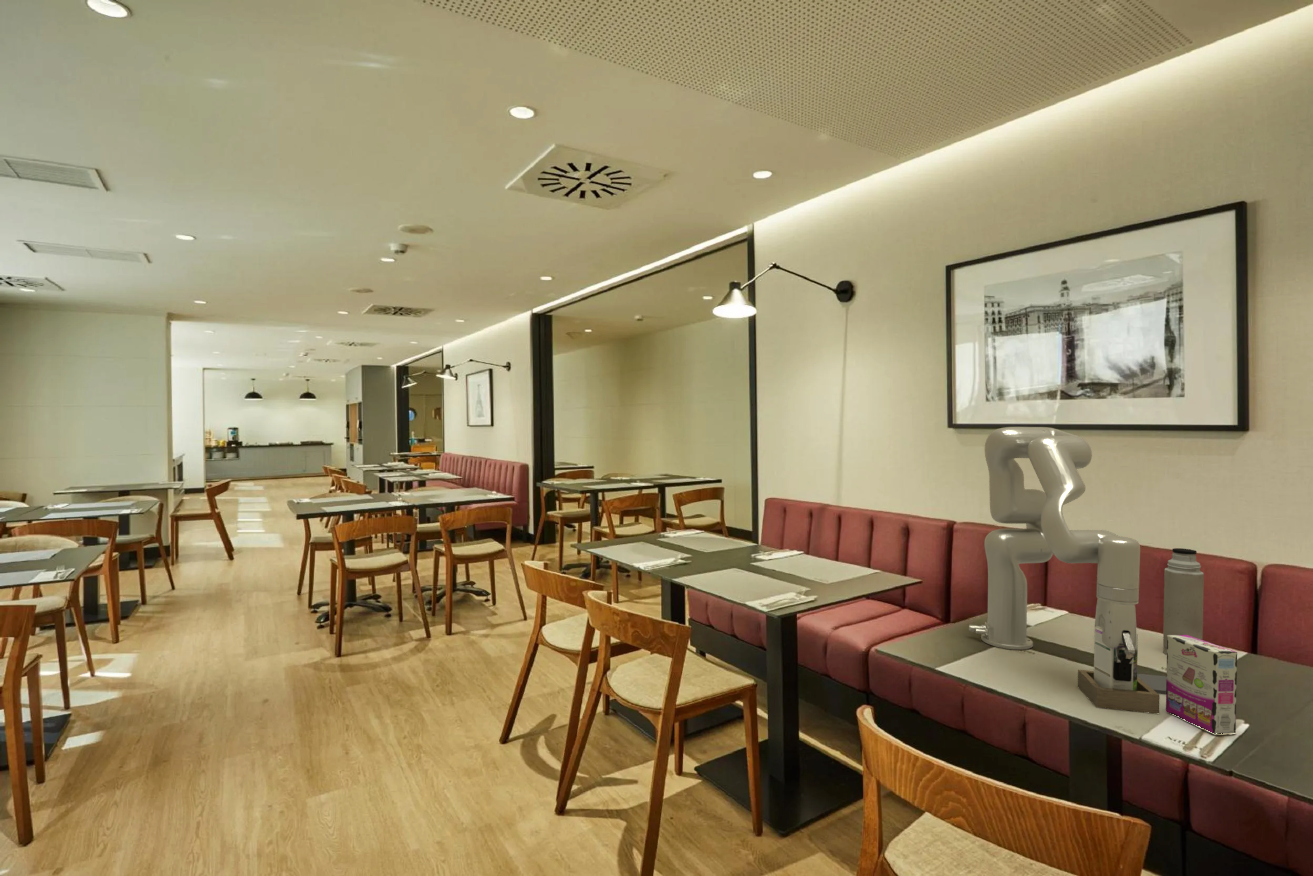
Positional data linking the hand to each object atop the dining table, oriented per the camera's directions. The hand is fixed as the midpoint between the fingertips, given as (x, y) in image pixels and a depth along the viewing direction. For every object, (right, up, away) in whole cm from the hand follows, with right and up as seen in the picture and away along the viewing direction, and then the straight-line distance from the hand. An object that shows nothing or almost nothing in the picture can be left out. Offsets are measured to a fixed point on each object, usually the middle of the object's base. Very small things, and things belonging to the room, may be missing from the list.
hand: (1115, 673), depth 142 cm
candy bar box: (+9, -6, -11) cm, 16 cm away
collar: (0, -6, 0) cm, 6 cm away
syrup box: (0, -5, 0) cm, 5 cm away
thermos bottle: (+37, -6, +27) cm, 46 cm away
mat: (+15, -6, +7) cm, 18 cm away
